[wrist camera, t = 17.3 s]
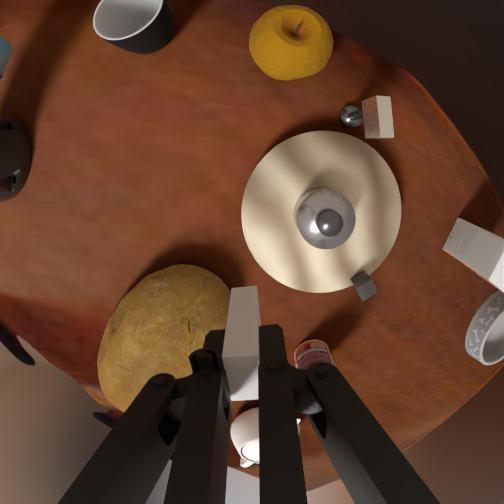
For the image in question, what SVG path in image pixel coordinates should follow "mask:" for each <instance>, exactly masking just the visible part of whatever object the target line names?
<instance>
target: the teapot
mask: <svg viewBox="0 0 504 504" xmlns="http://www.w3.org/2000/svg"><path fill="white" fill-rule="evenodd" d="M300 421H301V420H300V419H297V426H298V433H299V431H300V427H299V422H300ZM231 438H232V441H233V443H234V445H235V447H236V449H237V451H238V453H239V454H240V456H241V461H240V464H241V466H242V467H249V466H250V465H251V464H253V463H259V407H256V408H252V409H249V410H247V411H245V412H243V413H241V414H240V415H239V416H238V417H237V418H236V419H235V420H234V421H233V423H232V425H231Z"/></svg>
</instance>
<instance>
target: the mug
mask: <svg viewBox="0 0 504 504" xmlns="http://www.w3.org/2000/svg"><path fill="white" fill-rule="evenodd" d="M93 26H94V29H95V31H96V33H97V34H98V35H99V36H100V37H101V38H103V39H104V40H106V41H108V42H109V43H111V44H113V45H115V46H117V47H120V48H122V49H125V50H127V51H130V52H134V53H139V54H148V53H153V52H156V51H158V50H160V49H161V48H163V47H164V46H165V45H166V44H167V43H168V42H169V41H170V39H171V38H172V36H173V33H174V17H173V13H172V10H171V8H170V5H169V2H168V0H101V2H100V3H99V5H98V7H97V8H96V11H95V13H94V18H93Z"/></svg>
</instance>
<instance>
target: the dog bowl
mask: <svg viewBox="0 0 504 504" xmlns="http://www.w3.org/2000/svg"><path fill="white" fill-rule="evenodd" d="M465 347H466V351H467V352H468V354H469V355H471V356H472V357H474V358H475V359H477V360H478V361H480V362H481V363H483V364H484V365H492V364H495V363H497V362H499V361H500V360H502V359H503V358H504V293H503V292H501V291H500V290H497V291H496V292H494V293H493V294H492V295H491V296H490V297H489V298H488V299H487V300H486V301H485V302H484V303H483V304H482V305H481V307H480V308H479V309H478V311H477V312H476V314H475V315H474V317H473V319H472V321H471V323H470V325H469V328H468V330H467V334H466V338H465Z"/></svg>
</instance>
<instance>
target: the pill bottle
mask: <svg viewBox="0 0 504 504" xmlns="http://www.w3.org/2000/svg"><path fill="white" fill-rule="evenodd" d="M294 359H295V365H296V368H299V369H305V370H307V369H308V368H309V367H310V366H311V365H313V364H315V363H319V362H327V363H330V364H333V365H334V366H335V364H334V361H333V358H332V355H331V352H330V350H329V347H328V345H327V344H326V343H325V342H323V341H321V340H316V339H314V340H308V341H305V342H303V343H302V344H300V345H299V346H298V347H297V348H296V350H295V353H294ZM335 367H336V366H335Z"/></svg>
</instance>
